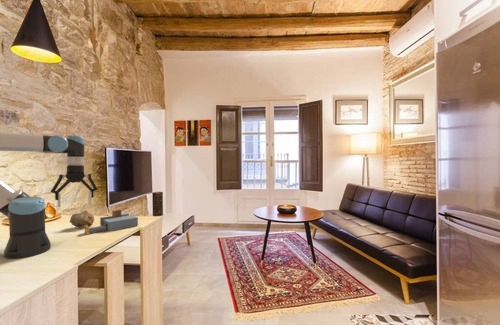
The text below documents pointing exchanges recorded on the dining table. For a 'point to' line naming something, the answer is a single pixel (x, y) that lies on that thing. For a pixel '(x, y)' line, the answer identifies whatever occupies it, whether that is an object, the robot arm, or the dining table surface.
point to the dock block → (119, 222)
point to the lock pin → (95, 229)
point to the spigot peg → (116, 213)
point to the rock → (82, 219)
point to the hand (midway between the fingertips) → (75, 205)
